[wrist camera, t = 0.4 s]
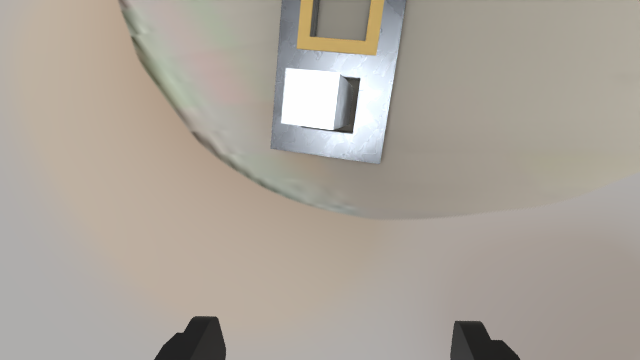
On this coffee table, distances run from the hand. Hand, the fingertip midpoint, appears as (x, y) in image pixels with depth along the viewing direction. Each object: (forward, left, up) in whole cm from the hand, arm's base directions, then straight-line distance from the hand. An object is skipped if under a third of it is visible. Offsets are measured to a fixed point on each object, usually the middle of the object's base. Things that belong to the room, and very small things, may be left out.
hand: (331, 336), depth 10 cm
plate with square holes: (-12, -5, -26) cm, 29 cm away
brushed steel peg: (-8, -5, -26) cm, 27 cm away
